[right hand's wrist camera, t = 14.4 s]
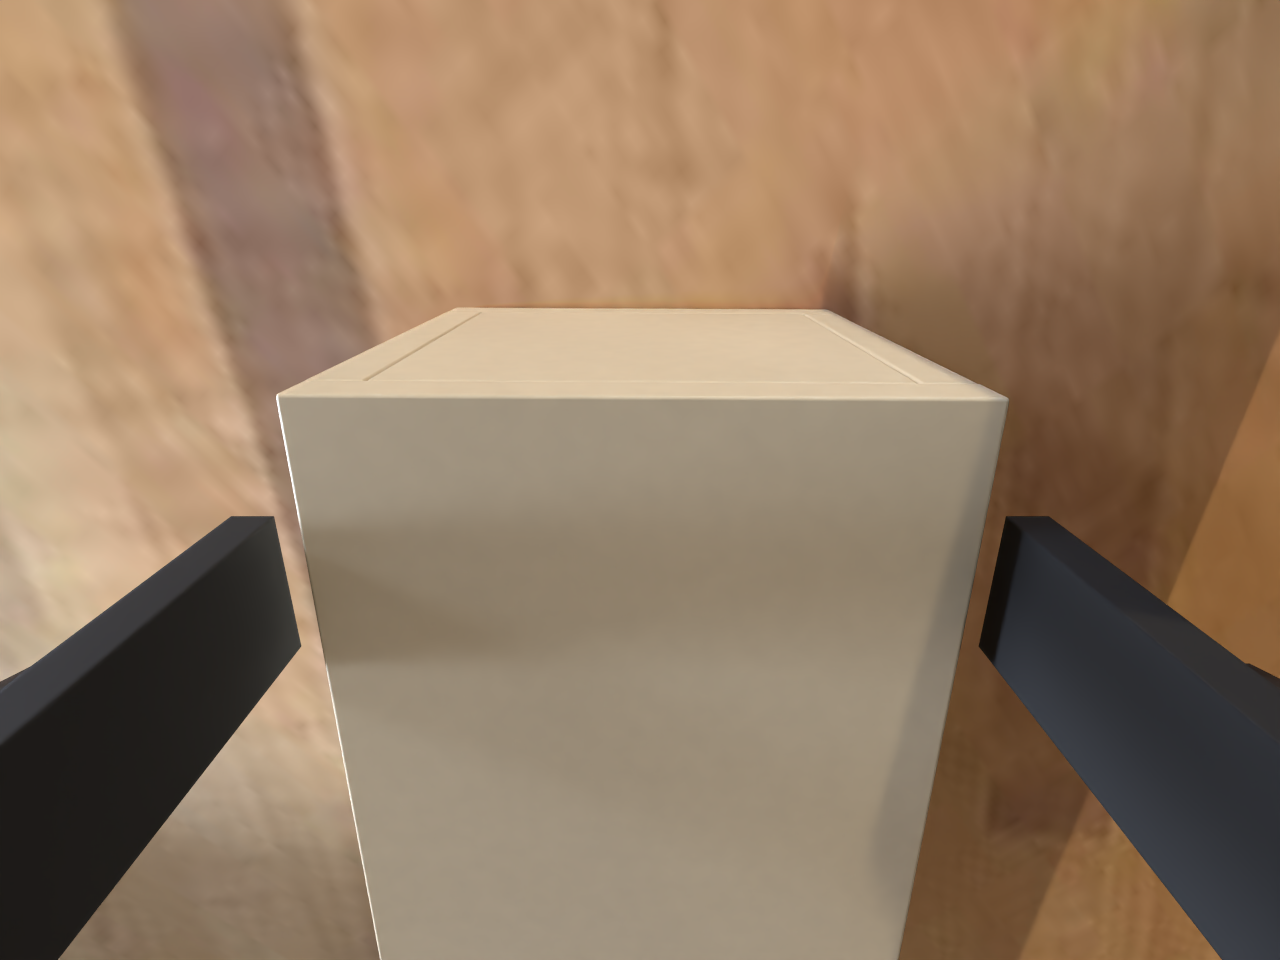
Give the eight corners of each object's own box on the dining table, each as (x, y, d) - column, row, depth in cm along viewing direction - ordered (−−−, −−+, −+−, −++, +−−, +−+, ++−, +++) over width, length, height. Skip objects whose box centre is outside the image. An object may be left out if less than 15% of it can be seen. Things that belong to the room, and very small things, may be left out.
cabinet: (778, 821, 28) (857, 1170, 18) (499, 819, 28) (417, 1167, 18) (829, 309, 21) (1012, 397, 11) (454, 307, 21) (274, 394, 11)
